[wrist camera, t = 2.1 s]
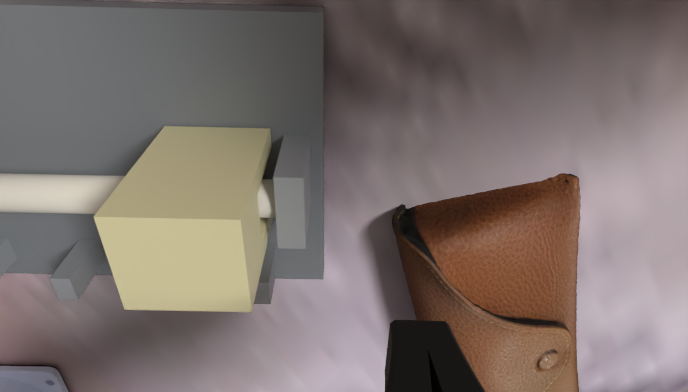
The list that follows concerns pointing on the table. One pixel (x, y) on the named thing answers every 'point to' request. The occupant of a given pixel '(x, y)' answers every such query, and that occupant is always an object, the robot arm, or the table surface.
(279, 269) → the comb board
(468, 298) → the sunglasses case
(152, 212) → the cream block on rod
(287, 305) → the table surface
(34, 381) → the robot arm
